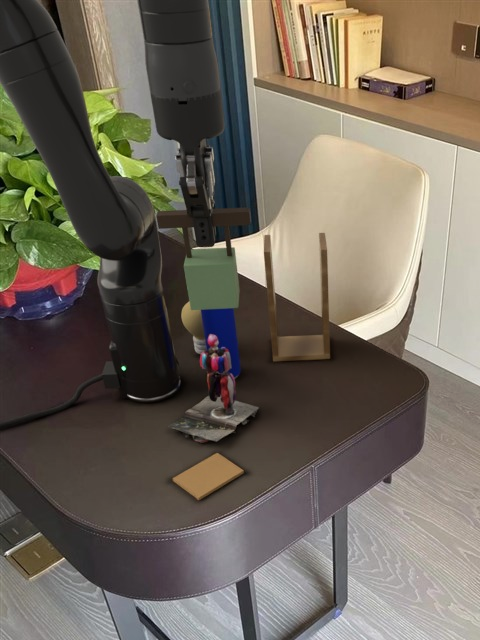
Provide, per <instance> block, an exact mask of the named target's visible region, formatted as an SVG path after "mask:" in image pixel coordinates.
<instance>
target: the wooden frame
mask: <svg viewBox="0 0 480 640" xmlns="http://www.w3.org/2000/svg"><path fill="white" fill-rule="evenodd" d="M271 237H272V236H271V234H264V235H263V259H264V268H265V269H264V271H265V282H266V293H267V294H266V295H267V306H268V319H269V329H270V340H271V342H270V343H271V352H272V353H271V354H272V361H273V362H292V361H314V360H330V359H331V337H330V336H331V335H330V333H331V332H330V305H329V304H330V302H329V301H330V299H329V266H328V265H329V263H328V262H329V261H328V245H327V238H326V237H327V236H326V232H319V233H318V241H319V242H318V245H319V246H318V248H319V250H318V251H319V273H320V274H319V275H320V304H321V306H320V307H321V331H322V332H321V334H312V335H311V334H310V335H309V334H308V335H287V336H279V329H278V328H279V327H278V313H277V302H276V288H275V287H276V286H275V275H274V274H275V273H274V265H273V264H274V263H273V251H272V238H271Z"/></svg>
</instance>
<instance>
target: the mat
mask: <svg viewBox="0 0 480 640" xmlns="http://www.w3.org/2000/svg"><path fill="white" fill-rule="evenodd" d="M244 474H245V471H244V469H242V468H241V467H239V466H238V465H236V464H235V463H233V461H230V459H228V458H226V457H225V456H223V455H222V454H220V453H218V452H216V453H214V454H213V455H210V456H209V457H207V458H205V459H204V460H201V461H200V462H198V463H197V464H195V465H193V466H192V467H190V468H188V469H186V470H184V471H183V472H181V473H179V474H178V475H176V476H174V477H172V482H174V483H175V484H177V485H178V487H180V488H182V489H183V490H185V491H186V492H187V493H188V494H190V495H191V496H192V497H194V498H195V499H196V500H197V501H201V500H203V499H204V498H206V497H207V496H209V495H211V494H212V493H214V492H216V491H217V490H219V489H221V488H222V487H224V486H225V485H227V484H228V483H230V482H232V481H233V480H235V479H237V478H238V477H240V476H242V475H244Z"/></svg>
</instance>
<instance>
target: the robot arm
mask: <svg viewBox="0 0 480 640" xmlns="http://www.w3.org/2000/svg"><path fill="white" fill-rule="evenodd" d="M136 1H137V6H138V7H137V8H138V13H139V18H140V25H141V30H142V36H143V44H144V61H145V70H146V77H147V82H148V88H149V89H148V90H149V94H150V101H151V106H152V112H153V118H154V124H155V129H156V133H157V135H158V136H159V137H161V138H162V139H165V140H167V141H175V142H177V143H178V144H179V148H177V154H176V155H175V156H174V157H175V158H174V159H175V167H176V171H177V172H178V173H179V180H178V185H179V186H180V190H181V194H182V198H183V201H184V206H185V210H187V215H188V217H189V218H193V225H194V227H193V230H194V237H195V244H196V246H197V248H214V246H215V244H216V237H217V231H216V230H217V229H216V226H215V227H213V222H212V213H213V210H212V209H214V205H215V199H214V197H215V193H216V192H215V183H216V180H215V171H214V160H215V155H214V148H213V146H211V145H210V144H207V140H210V139H213V138H216V137H218V136H220V135H222V134H223V133H224V131H225V128H226V125H225V116H224V107H223V106H224V105H223V99H222V98H223V97H222V90H221V80H220V71H219V64H218V63H219V62H218V57H217V53H216V49H215V45H214V39H213V31H212V22H211V21H212V20H211V14H210V7H209V6H210V5H209V0H136ZM0 86H1V87H2V89H3V91H4V92H5V94H6V95H7V97H8V99H9V100H10V102H11V104H12V105H13V107H14V110H15V111H16V113H17V115H18V117H19V119H20V121H21V123H22V125H23V126H24V128H25V130H26V132H27V134H28V135H29V137H30V139H31V141H32V143H33V145H34V147H35V148H36V150H37V152H38V153H39V155H40V157H41V159H42V161H43V162H44V165H45V167H46V169H47V171H48V173H49V176H50V178H51V180H52V181H53V184H54V186H55V188H56V191H57V193H58V195H59V197H60V200H61V203H62V205H63V207H64V209H65V211H66V214H67V216H68V219H69V221H70V224H71V225H72V227H73V230H74V231H75V234H76V235H77V237H78V238H79V240H80V242H81V243H82V244H83V245H84V247H85V248H87V249H88V251H90V252H91V253H92V254H94V255H95V256H97V257H98V258H99V268H98V273H97V279H96V281H97V286H98V287H97V288H98V292H99V295H100V299H101V304H102V308H103V311H104V315H105V321H106V324H107V329H108V332H109V336H110V343H109V347H108V349H109V353H110V357H111V360H110V361H109V360H108V361H107V360H106V361H105V364H104V367H103V370H102V372H101V373H100V374H98V375H96V376H93V377H91V378H89V379H87V380H85V381H84V382H82V383H81V384H80V385H79V386H78V387H77V389H76V390H75V393H74V395H73V396H72V397H71V398H69V399H68V400H67V401H65V402H63V403H62V404H58V405H56V406H54V407H51V408H47V409H44V410H43V409H42V410H40V411H35V412H31V413H28V414H23V415H20V416H17V417H13V418H9V419H6V420H5V419H4V420H2V421H1V420H0V429H2V428H4V427H9V426H13V425H17V424H20V423H24V422H26V421H27V422H28V421H30V420H33V419H37V418H42V417H45V416H46V417H47V416H49V415H54V414H55V413H59V412H61V411H63V410H66V409H67V408H69V407H71V406H73V405H75V403H76V402H78V400H80V397H81V396H82V393H83V391H85V389H87V388H88V387H90V386H92V385H93V384H96V383H99V382H100V381H102V382H103V385H104V388H105V389H109V390H110V389H119V393H120V398H121V399H129V400H130V401H133V402H135V403H136V402H138V403H146V404H147V403H154V402H155V403H156V402H160V401H164V400H166V399H168V398H170V397H172V396H174V395H175V394H176V393H178V391H179V390H180V388H181V386H182V381H181V377H180V371H179V369H181V366H180V362H179V360H178V358H177V357H176V352H175V347H174V342H173V334H172V331H171V325H170V319H169V314H168V309H167V304H166V298H165V291H164V288H163V281H162V271H163V258H162V257H163V256H162V250H161V243H160V236H159V230H158V229H159V228H158V223H157V217H156V213H155V209H154V206H153V203H152V200H151V199H150V197H149V195H148V194H147V192H146V190H145V189H144V188H143V187H142V186H141V185H140V184H139V183H138V182H137V181H135V180H133V179H131V178H128V177H125V176H121V175H113V176H112V175H110V174H109V172H108V170H107V169H106V167H105V165H104V163H103V160H102V158H101V156H100V154H99V151H98V149H97V145H96V144H95V140H94V136H93V132H92V128H91V123H90V119H89V113H88V108H87V103H86V99H85V93H84V89H83V86H82V82H81V79H80V75H79V72H78V70H77V67H76V65H75V62H74V60H73V58H72V56H71V54H70V52H69V50H68V48H67V46H66V44H65V41H64V39H63V38H62V36H61V33H60V31H59V30H58V27H57V25H56V23H55V21H54V20H53V17H52V16H51V14H50V13H49V12H48V10H47V9H46V8H45V6H44V5H43V4H42V3H41V2H40V1H39V0H0Z"/></svg>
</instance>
